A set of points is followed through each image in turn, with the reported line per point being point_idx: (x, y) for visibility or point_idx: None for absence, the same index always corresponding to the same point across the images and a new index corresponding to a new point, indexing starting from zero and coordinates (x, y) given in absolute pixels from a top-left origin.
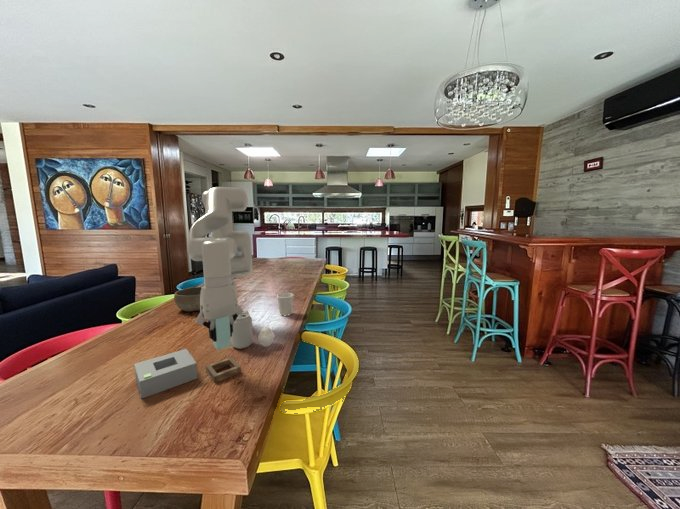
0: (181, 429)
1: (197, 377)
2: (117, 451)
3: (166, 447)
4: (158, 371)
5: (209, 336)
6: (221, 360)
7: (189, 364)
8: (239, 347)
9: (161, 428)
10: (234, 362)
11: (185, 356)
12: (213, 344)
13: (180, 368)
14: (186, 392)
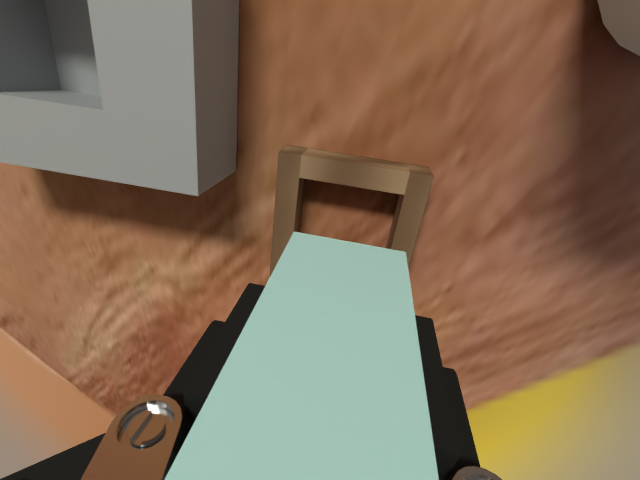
0: (137, 371)
1: (233, 171)
2: (9, 326)
3: (104, 390)
4: (3, 115)
5: (212, 324)
6: (371, 166)
7: (161, 180)
8: (608, 29)
9: (94, 333)
10: (405, 246)
11: (156, 33)
12: (290, 239)
13: (113, 181)
14: (174, 235)
